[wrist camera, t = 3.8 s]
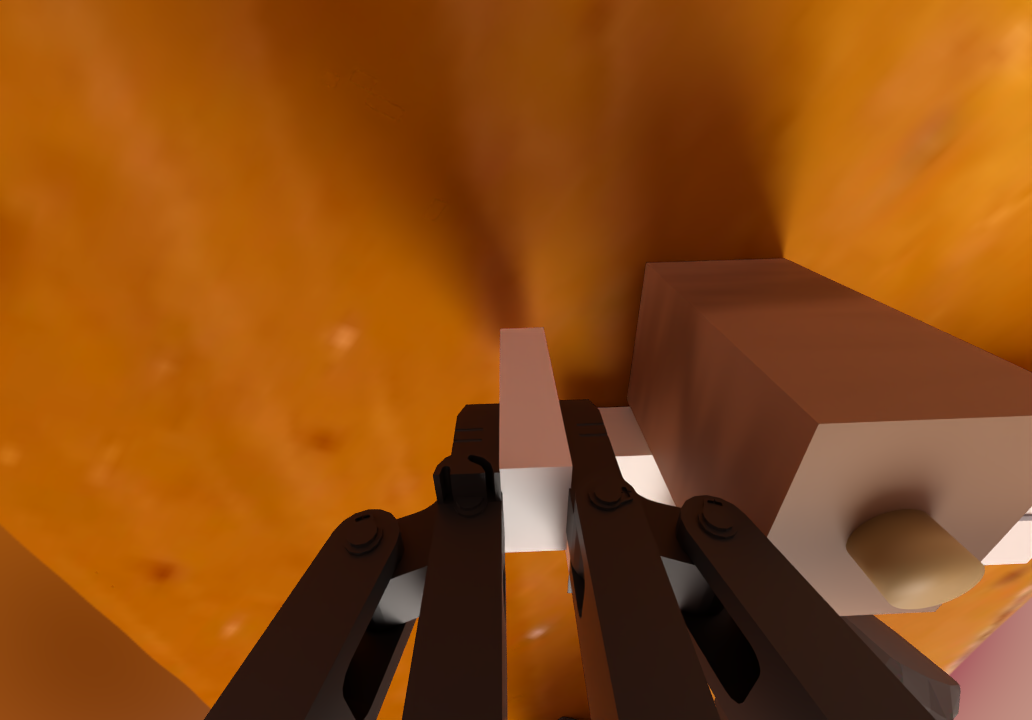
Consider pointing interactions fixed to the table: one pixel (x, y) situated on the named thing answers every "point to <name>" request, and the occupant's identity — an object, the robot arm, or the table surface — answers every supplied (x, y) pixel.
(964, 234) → the table surface
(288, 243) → the table surface
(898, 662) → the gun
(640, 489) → the board
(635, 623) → the robot arm
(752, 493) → the brown wooden clamp
